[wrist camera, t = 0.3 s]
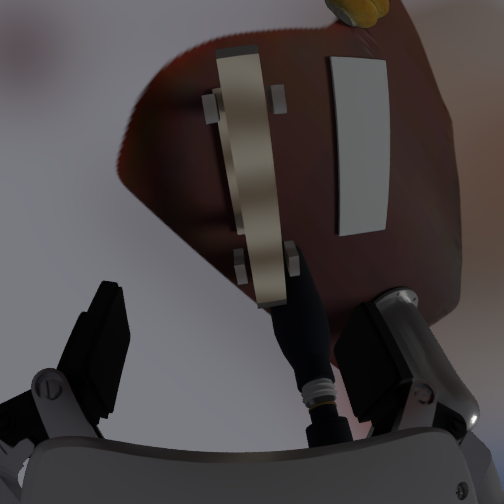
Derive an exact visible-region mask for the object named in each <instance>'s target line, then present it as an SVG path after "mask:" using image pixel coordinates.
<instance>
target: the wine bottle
mask: <svg viewBox="0 0 504 504" xmlns="http://www.w3.org/2000/svg"><path fill="white" fill-rule="evenodd" d="M295 247H296V249H297V252H298V255H299V268H300V275H297V276H291V277H290V274H289V271H288V267H287V264H286V261H285V250H284V242H282V251H283V262H284V274H285V286H286V299H287V304H285V305H279V306H273V307H270V311H271V317H272V322H273V328H274V334H275V336H276V339H277V341H278V343H279V346H280V348H281V350H282V352H283V354H284V356H285V357H286V359H287V360H288V362H289V363H290V365H291V366H292V368H293V369H294V372H295V377H296V382H297V387H298V390H299V391H300V392H301V393H302V394H301V395H302V397H303V403H304V404H305V406H306V407H307V408H310V409H309V414H310V417H311V421H312V424H311V425H309V426H308V427H307V428H306V434H307V440H308V446H309V448H313V447H321V446H327V445H334V444H340V443H345V442H350V441H353V438H352V434H351V430H350V427H349V423H348V420H347V418H346V417H341V416H338V412H337V409H336V403H335V402H334V401H335V400H336V394H337V392H336V390H335V385H334V382H335V378H334V375H333V371H332V368H331V365H330V361H329V355H330V342H331V339H330V328H329V322H328V317H327V315H326V312H325V309H324V307H323V304H322V302H321V299H320V296H319V294H318V291H317V289H316V286H315V284H314V281H313V278H312V276H311V273H310V271H309V268H308V266H307V263H306V261H305V259H304V256H303V254H302V251H301V250H300V249H299V247H298V246H296V245H295Z"/></svg>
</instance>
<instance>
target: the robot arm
mask: <svg viewBox="0 0 504 504" xmlns="http://www.w3.org/2000/svg"><path fill="white" fill-rule="evenodd" d="M417 305H418V297H417V295H416V293H415V292H414V291H413V290H412V289H410V288H407V287H400V288H395V289H392V290H390V291H388V292H386V293H384V294H383V295H381V296H380V297H379V298H377V299H376V300H375V301H374V302H373V303H369V302H362V303H360V304H359V306H356V308H355V310H354V312H353V314H352V315H351V317H350V319H349V321H348V323H347V325H346V327H345V329H344V330H343V332H342V334H341V336H340V338H339V339H338V341H337V343H336V345H335V347H334V355H335V358H336V361H337V364H338V367H339V370H340V373H341V376H342V379H343V382H344V385H345V388H346V391H347V394H348V397H349V400H350V404H351V407H352V410H353V413H354V416H355V417H357V418H358V421H359V423H362V422H367V421H370V420H371V423H372V426H371V428H370V430H369V433H368V435H367V437H366V438H365V439H361V440H355V441H350V442H345V443H340V444H334V445H327V446H321V447H313V448H305V449H297V450H286V451H272V452H245V453H229V452H225V453H224V452H200V451H186V450H176V449H167V448H159V447H151V446H144V445H137V444H131V443H126V442H120V441H113V440H108V439H105V438H104V437H103V435H102V433H101V432H100V430H99V428H98V427H97V424H99V420H100V417H101V418H105V419H108V414H109V413H113V410H114V406H115V401H116V396H117V392H118V387H119V383H120V378H121V374H122V370H123V366H124V362H125V358H126V354H127V350H128V347H129V343H130V330H129V325H128V320H127V314H126V309H125V302H124V296H123V290H122V287H118V284H117V283H116V282H110V281H102V282H101V284H100V286H99V288H98V290H97V292H96V294H95V296H94V298H93V300H92V302H91V305H90V307H89V309H88V311H87V312H82V313H81V314H80V315H79V317H78V319H77V322H76V324H75V326H74V328H73V330H72V333H71V335H70V337H69V339H68V342H67V344H66V346H65V349H64V351H63V354H62V356H61V359H60V361H59V364H58V366H57V369H54V368H46V369H43V370H41V371H40V372H38V373H37V374H36V375H35V376H34V378H33V380H32V384H31V389H30V390H28V391H26V392H24V393H22V394H20V395H18V396H16V397H14V398H12V399H10V400H8V401H6V402H4V403H1V404H0V504H504V491H503V489H502V486H501V483H500V480H499V477H498V474H497V471H496V468H495V465H494V463H493V460H492V457H491V453H490V450H489V449H488V448H487V447H486V446H485V444H484V443H483V442H481V441H480V440H479V439H478V438H477V437H476V436H475V435H474V434H473V433H472V432H471V430H472V429H473V428H474V426H475V425H476V424H477V422H478V419H479V416H480V409H479V405H478V403H477V401H476V399H475V398H474V396H473V395H472V393H471V392H470V391H469V389H468V388H467V387H466V385H465V384H464V383H463V382H462V380H461V379H460V377H459V376H458V374H457V373H456V371H455V370H454V368H453V366H452V365H451V363H450V361H449V360H448V358H447V356H446V355H445V353H444V351H443V349H442V348H441V346H440V344H439V343H438V341H437V339H436V338H435V336H434V335H433V333H432V332H431V330H430V328H429V327H428V325H427V323H426V322H425V320H424V319H423V317H422V316H421V314H420V313H419V311H418V310H417ZM27 458H30V459H29V461H28V464H27V468H26V471H25V476H24V480H23V486H22V488H21V487H20V485H19V483H18V473H19V471H20V470H21V468H22V467H23V466H24V465H23V462H25V460H26V459H27Z"/></svg>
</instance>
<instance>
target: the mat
mask: <svg viewBox="0 0 504 504" xmlns="http://www.w3.org/2000/svg"><path fill="white" fill-rule="evenodd" d="M329 58H330V66H331V74H332V83H333V93H334V104H335V116H336V131H337V150H338V180H339V229H338V234H339V236H344V235H351V234H358V233H364V232H371V231H377V230H384V229H385V225H386V215H387V204H388V189H389V168H390V115H389V95H388V81H387V70H386V61H384V60H375V59H364V58H350V57H329Z"/></svg>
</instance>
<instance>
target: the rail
mask: <svg viewBox="0 0 504 504" xmlns="http://www.w3.org/2000/svg"><path fill="white" fill-rule="evenodd" d="M215 53H216V59H217V66H218V72H219V78H220V84H221V90H222V96H223V102H224V108H225V115H226V121H227V127H228V133H229V139H230V145H231V151H232V157H233V163H234V169H235V175H236V181H237V187H238V193H239V199H240V205H241V211H242V217H243V223H244V229H245V235H246V241H247V246H248V252H249V258H250V264H251V270H252V276H253V282H254V288H255V294H256V299H257V305H258V309H260V308H266V307H273V306H279V305H285V304H287V299H286V286H285V274H284V262H283V251H282V240H281V230H280V220H279V210H278V200H277V191H276V182H275V173H274V164H273V156H272V147H271V139H270V131H269V124H268V116H267V108H266V101H265V94H264V87H263V80H262V73H261V66H260V60H259V53H258V47H257V45H247V46H239V47H232V48H225V49H218V50H215Z"/></svg>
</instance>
